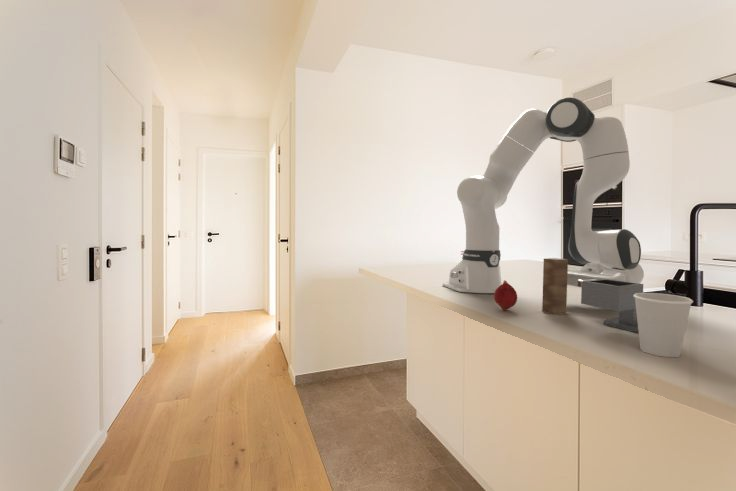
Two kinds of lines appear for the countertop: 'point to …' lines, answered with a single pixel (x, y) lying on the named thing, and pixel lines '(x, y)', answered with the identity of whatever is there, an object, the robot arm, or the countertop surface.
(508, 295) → the onion
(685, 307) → the dixie cup
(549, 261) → the rail post
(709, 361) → the countertop surface
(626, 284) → the box
